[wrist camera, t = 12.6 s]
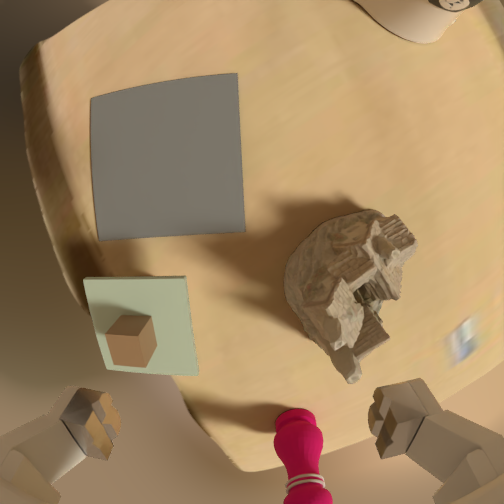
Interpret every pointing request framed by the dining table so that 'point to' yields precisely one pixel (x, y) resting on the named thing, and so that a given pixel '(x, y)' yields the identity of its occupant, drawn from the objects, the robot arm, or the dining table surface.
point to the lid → (143, 324)
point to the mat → (168, 159)
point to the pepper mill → (301, 457)
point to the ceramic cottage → (348, 284)
